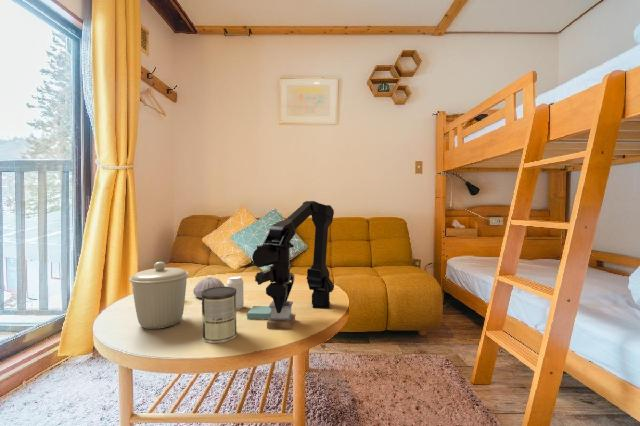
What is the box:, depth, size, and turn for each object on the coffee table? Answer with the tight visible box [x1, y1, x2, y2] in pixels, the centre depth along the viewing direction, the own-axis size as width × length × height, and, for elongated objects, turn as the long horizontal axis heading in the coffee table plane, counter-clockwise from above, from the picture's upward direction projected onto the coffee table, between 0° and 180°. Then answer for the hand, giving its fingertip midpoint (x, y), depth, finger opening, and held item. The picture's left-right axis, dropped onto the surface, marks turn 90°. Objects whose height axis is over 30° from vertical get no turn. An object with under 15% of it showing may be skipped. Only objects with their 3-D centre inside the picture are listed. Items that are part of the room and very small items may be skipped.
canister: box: [128, 261, 190, 330], centre depth 111 cm, size 18×18×21 cm
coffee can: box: [201, 286, 238, 344], centre depth 101 cm, size 10×10×14 cm
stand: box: [246, 305, 271, 320], centre depth 119 cm, size 8×8×2 cm
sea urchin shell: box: [192, 276, 226, 299], centre depth 144 cm, size 13×14×8 cm
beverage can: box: [226, 275, 245, 311], centre depth 127 cm, size 6×6×12 cm
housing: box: [268, 300, 294, 321], centre depth 110 cm, size 7×5×5 cm
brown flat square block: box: [266, 313, 296, 330], centre depth 111 cm, size 8×8×2 cm
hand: (281, 308), depth 110 cm, fingers open, 9 cm apart
